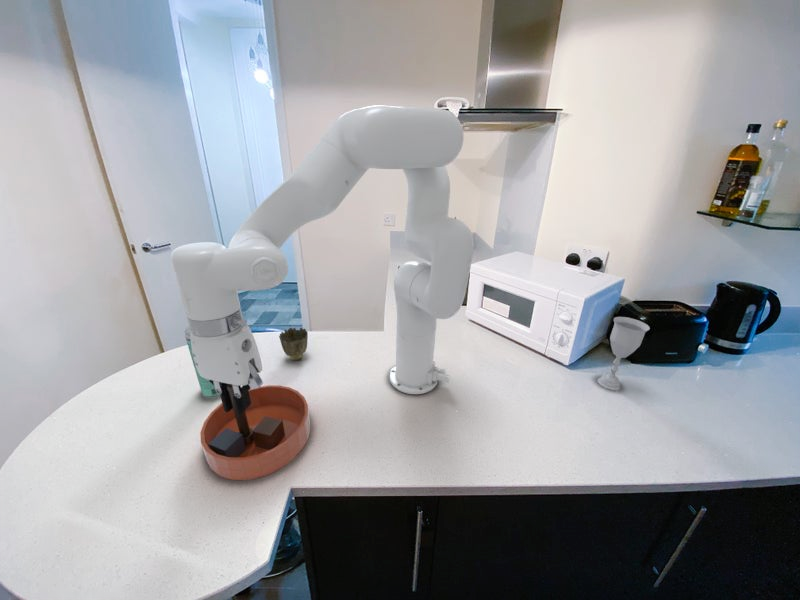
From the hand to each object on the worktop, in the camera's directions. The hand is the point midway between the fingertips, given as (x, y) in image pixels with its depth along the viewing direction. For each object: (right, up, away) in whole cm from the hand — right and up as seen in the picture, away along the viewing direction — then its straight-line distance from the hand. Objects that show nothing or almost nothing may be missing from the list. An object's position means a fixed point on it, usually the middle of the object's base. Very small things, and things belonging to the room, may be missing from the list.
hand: (238, 407), depth 58 cm
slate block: (-2, -9, +1) cm, 10 cm away
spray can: (-14, -2, +18) cm, 23 cm away
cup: (+1, +3, +31) cm, 32 cm away
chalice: (+85, -2, +24) cm, 88 cm away
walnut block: (+4, -8, +4) cm, 10 cm away
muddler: (0, -8, +4) cm, 9 cm away
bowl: (+2, -8, +6) cm, 10 cm away
